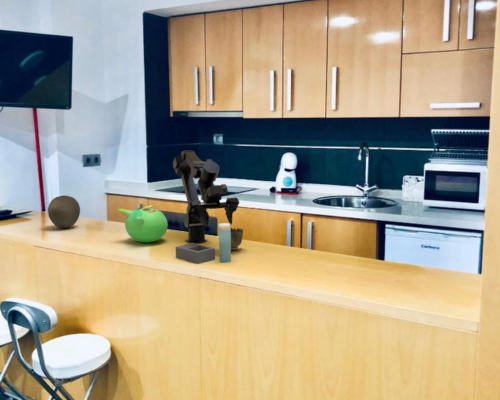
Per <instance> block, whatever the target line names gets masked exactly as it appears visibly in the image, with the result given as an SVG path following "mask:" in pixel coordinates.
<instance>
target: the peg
mask: <svg viewBox="0 0 500 400" xmlns="http://www.w3.org/2000/svg"><path fill="white" fill-rule="evenodd" d="M230 228H231V225H230V223H229V222H221V223H218V253H219V254H218V258H219V262H220V263H230V262H231V261H232V255H231V253H232V251H231V231H230Z"/></svg>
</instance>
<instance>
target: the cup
mask: <svg viewBox="0 0 500 400" xmlns="http://www.w3.org/2000/svg"><path fill="white" fill-rule="evenodd" d="M230 231H231V252H235V251H238V250H239V246H241V244H242V242H243V233H244V229H243V228H239V227H237V228H236V227H234V228H232V227H230Z"/></svg>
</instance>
